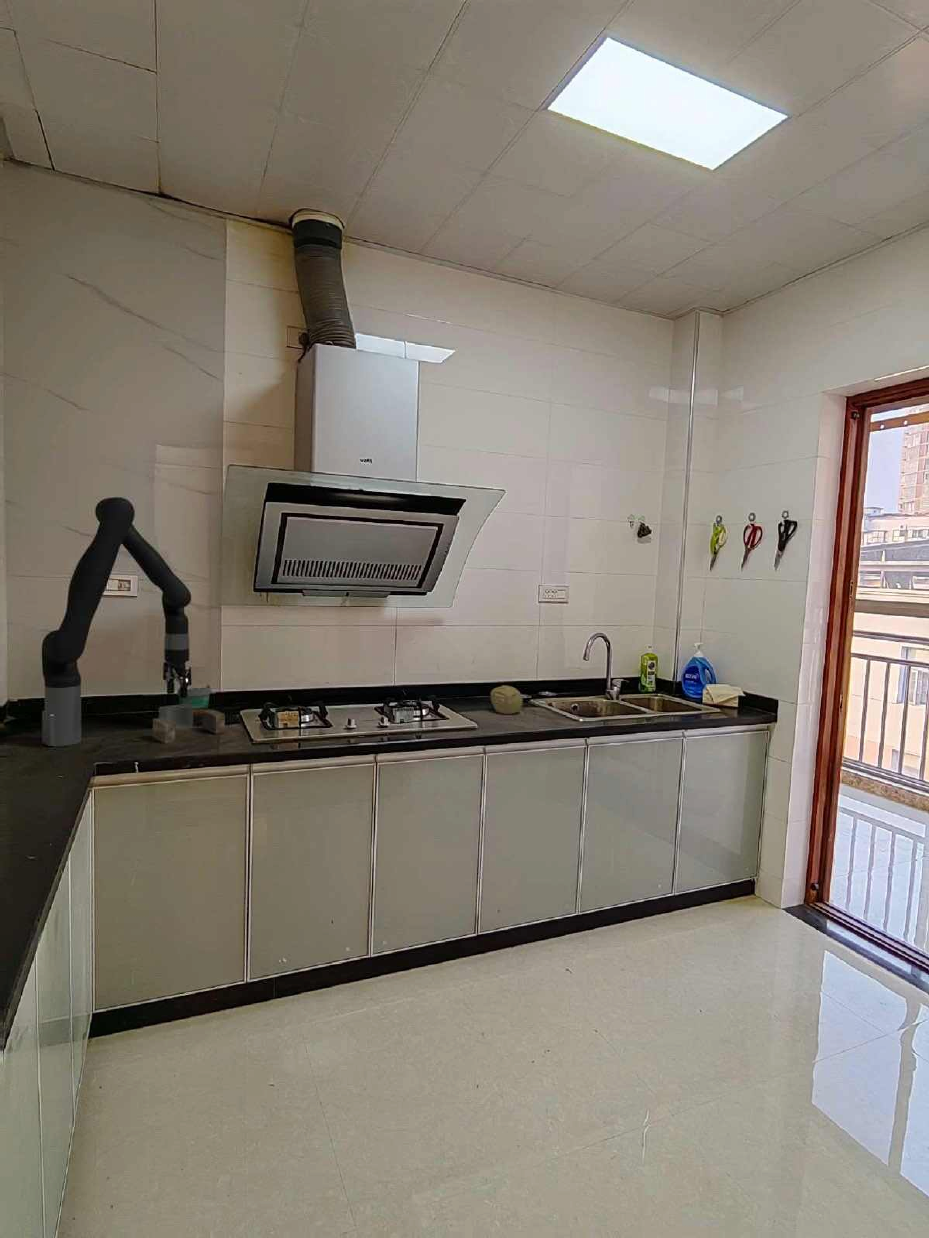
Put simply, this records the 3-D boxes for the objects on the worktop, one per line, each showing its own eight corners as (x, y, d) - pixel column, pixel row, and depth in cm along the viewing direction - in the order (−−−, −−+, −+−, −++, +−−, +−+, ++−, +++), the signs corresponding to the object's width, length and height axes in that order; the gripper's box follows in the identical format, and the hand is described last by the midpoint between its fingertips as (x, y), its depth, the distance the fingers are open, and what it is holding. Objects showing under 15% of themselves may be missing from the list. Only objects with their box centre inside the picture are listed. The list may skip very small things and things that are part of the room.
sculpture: (485, 711, 274) (486, 684, 273) (506, 708, 282) (508, 681, 281) (506, 717, 266) (507, 689, 265) (527, 713, 274) (529, 686, 273)
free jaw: (214, 733, 222) (214, 715, 221) (201, 728, 227) (201, 710, 226) (224, 732, 224) (224, 713, 224) (211, 727, 229) (211, 709, 229)
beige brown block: (165, 743, 209) (165, 724, 209) (152, 738, 215) (152, 719, 214) (176, 741, 212) (176, 722, 211) (163, 736, 217) (163, 717, 217)
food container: (186, 720, 238) (186, 691, 237) (176, 717, 242) (176, 688, 241) (218, 714, 248) (218, 687, 247) (208, 711, 252) (208, 684, 251)
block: (166, 731, 223) (166, 709, 223) (158, 728, 227) (159, 707, 226) (192, 727, 230) (193, 706, 230) (185, 724, 234) (185, 703, 233)
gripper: (155, 645, 228) (155, 693, 229) (176, 650, 219) (176, 701, 220) (177, 643, 234) (177, 691, 235) (199, 648, 224) (199, 698, 226)
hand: (177, 695), depth 228 cm, fingers open, 8 cm apart
